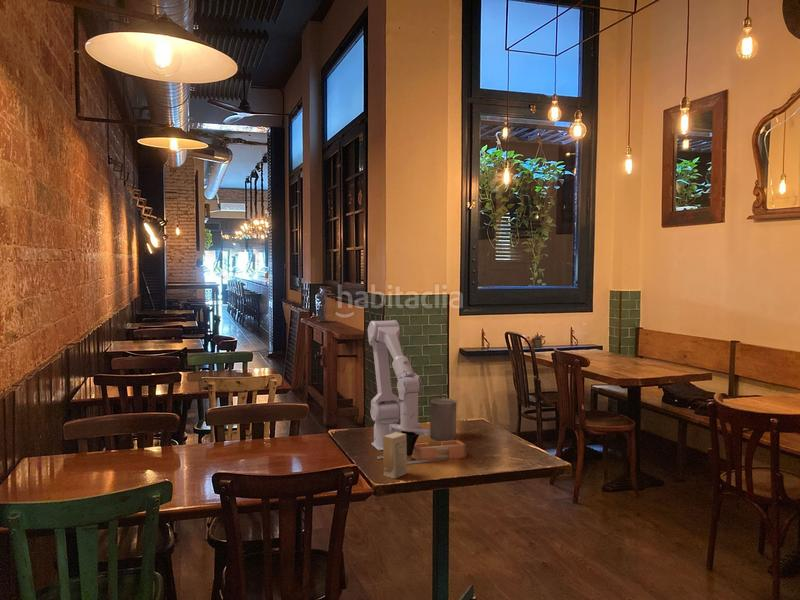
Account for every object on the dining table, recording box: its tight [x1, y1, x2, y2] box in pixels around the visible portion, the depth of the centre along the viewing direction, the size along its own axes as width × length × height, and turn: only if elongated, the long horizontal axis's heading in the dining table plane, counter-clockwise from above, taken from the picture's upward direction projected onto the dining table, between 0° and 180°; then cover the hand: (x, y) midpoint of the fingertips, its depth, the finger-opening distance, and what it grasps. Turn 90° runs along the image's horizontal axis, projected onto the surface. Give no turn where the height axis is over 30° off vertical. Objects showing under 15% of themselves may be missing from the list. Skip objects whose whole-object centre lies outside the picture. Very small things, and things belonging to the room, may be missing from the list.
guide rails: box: [376, 455, 449, 465], centre depth 202 cm, size 9×21×1 cm, turn 109°
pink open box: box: [440, 439, 467, 460], centre depth 207 cm, size 7×6×4 cm
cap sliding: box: [410, 442, 436, 460], centre depth 203 cm, size 7×6×4 cm
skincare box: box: [382, 431, 408, 480], centre depth 185 cm, size 6×4×12 cm
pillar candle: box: [429, 396, 457, 441], centre depth 230 cm, size 10×10×15 cm
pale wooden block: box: [420, 444, 457, 458], centre depth 204 cm, size 4×14×4 cm, turn 109°
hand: (409, 455), depth 202 cm, fingers closed
